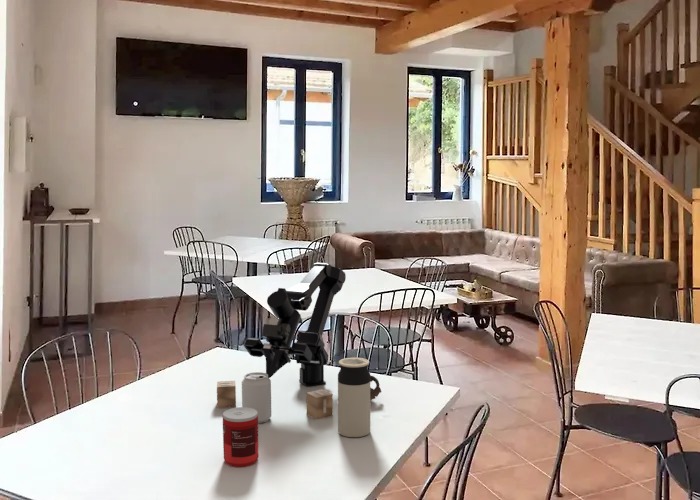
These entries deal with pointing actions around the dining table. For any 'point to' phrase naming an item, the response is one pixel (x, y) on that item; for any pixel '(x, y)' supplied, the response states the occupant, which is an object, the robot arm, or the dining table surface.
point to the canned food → (240, 436)
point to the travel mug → (354, 397)
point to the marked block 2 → (319, 404)
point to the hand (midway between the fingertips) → (267, 377)
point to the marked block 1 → (226, 394)
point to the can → (257, 394)
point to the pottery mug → (377, 390)
